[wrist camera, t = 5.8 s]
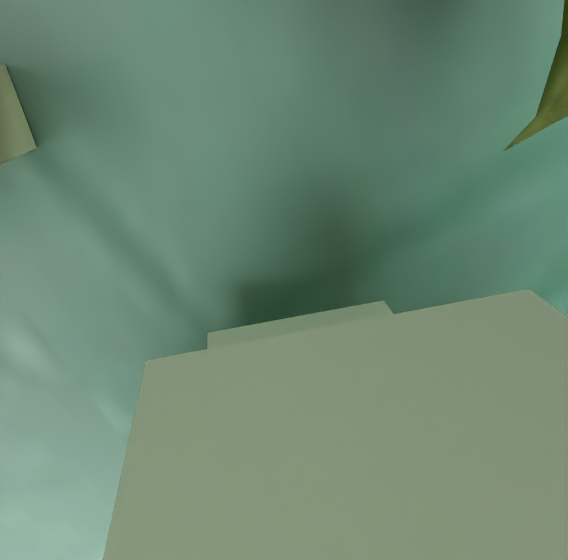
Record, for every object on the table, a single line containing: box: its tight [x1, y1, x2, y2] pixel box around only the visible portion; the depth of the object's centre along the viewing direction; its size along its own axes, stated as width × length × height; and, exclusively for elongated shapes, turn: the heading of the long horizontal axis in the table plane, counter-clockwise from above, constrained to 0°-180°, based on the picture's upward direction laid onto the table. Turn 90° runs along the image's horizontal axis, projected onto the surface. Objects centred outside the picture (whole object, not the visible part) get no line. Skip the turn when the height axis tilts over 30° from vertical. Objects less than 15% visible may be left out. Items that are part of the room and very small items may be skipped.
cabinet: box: [103, 289, 568, 560], centre depth 8 cm, size 9×5×9 cm, turn 7°
